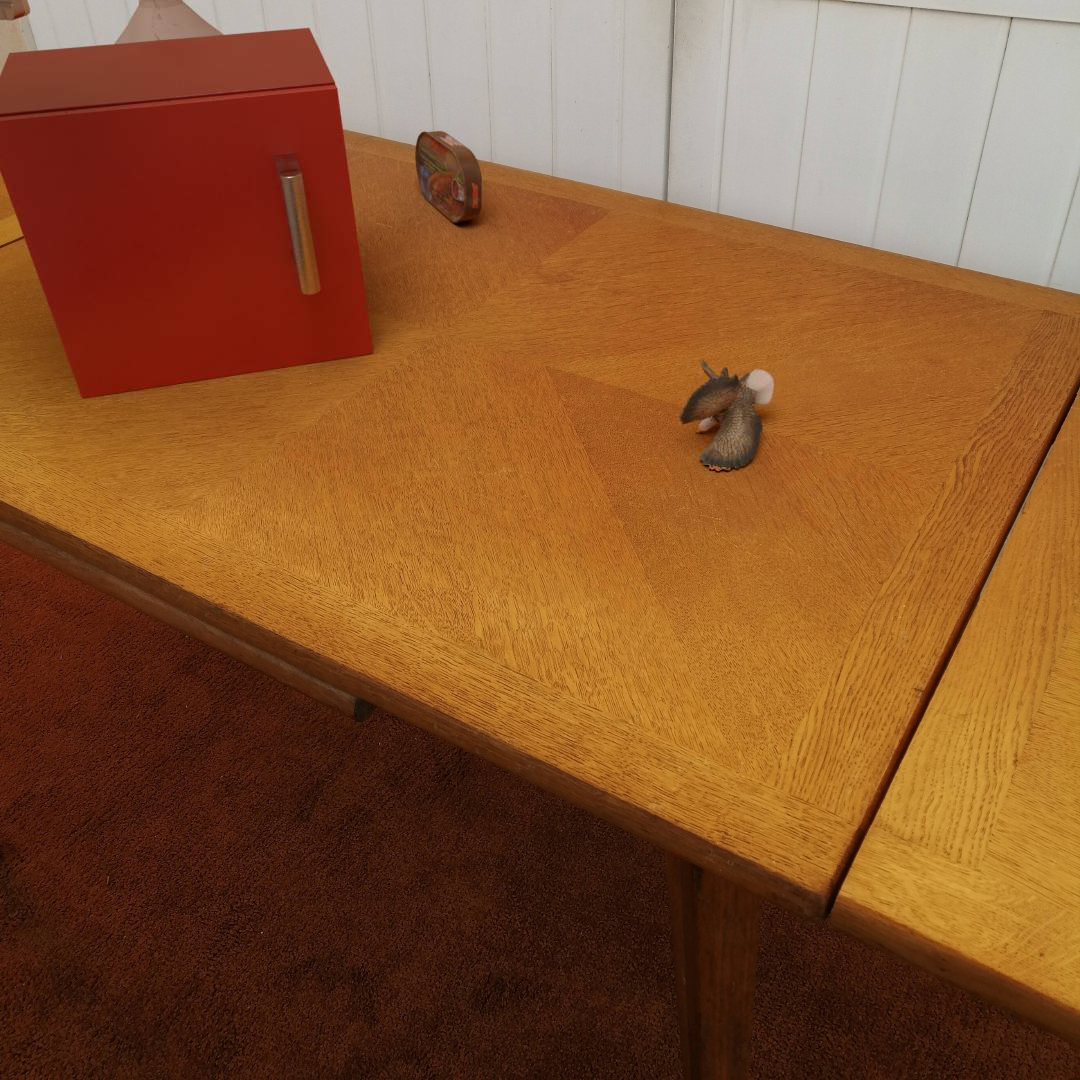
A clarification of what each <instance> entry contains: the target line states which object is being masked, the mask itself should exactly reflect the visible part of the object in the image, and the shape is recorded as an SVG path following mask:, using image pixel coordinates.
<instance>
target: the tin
mask: <svg viewBox="0 0 1080 1080" xmlns="http://www.w3.org/2000/svg"><path fill="white" fill-rule="evenodd" d="M414 153H415V156H414V160H415V170H416V175H417V179H418V184H419V186H420V190H421V193H422V195H423V197H424V198H425V200H426V201H427V202H428V204H430V205H431V206H433V208H435V209H436V210H437V211H438V212H440V214H442V215H443V216H444V217H446V218H447V219H448V220H449V221H450V222H451V223H454V224H458V223H460V222H466V221H467V222H468V221H473V220H476V218H478V216H479V215H480V213H481V211H482V208H483V207H482V199H483V198H482V197H483V187H482V183H483V178H482V177H483V176H482V172H481V168H480V165H479V164H480V163H479V161H478V160H477V158H476V155H475V154H474V152H473V151H472V150H471V149H470V148H468V147H467V146H466V145H464V144H463V143H461V142H460V141H458V139H455V137H453V136H451V135H450V134H449V133H447V132H446V131H443V130H435V131H425V130H424V131H422V132H420V134H419V135H418V136H417V139H416V144H415V152H414Z"/></svg>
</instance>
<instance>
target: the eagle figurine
mask: <svg viewBox="0 0 1080 1080" xmlns="http://www.w3.org/2000/svg"><path fill="white" fill-rule="evenodd" d="M699 363H700V366H701V368H702V370H703V372H704V374H706V376H707V377H708V378H709V379H708V380H707V381H705V382H704V383H703V384H701V385H700V386H699V387H698V388H697V389H696V390H695V391H694V392H692V393H691V394H690V397H689V398H688V399H687V400H686V403H685V404H684V405H683V408H682V411H681V413H680V414H679V416H678V417H679V422H680V423H681V425H687V424H689V423H693V422H696V421H698V422H699V421H700V423H699V424H698V428H697V429H696V430H695V433H696V432H697V433H696V434H699V433H700V432H707V431H709V430H710V429H711V428H713V426H715V425H717V424H719V423H720V425H719V428H718V430H717V432H716V434H715V436H714V438H713V439H712V441H711V442H710V443H709V445H708V446H707V447H706V448H705V449H704V450H703V452H701V454H700V456H699V460H700V461H702V464H704V465H707V464H710V465H711V467H713V465H714V466H718V467H720V468H722V467H726V469H729V468H731V467H732V469H733V468H734V467H736V468H737V467H739V468H740V467H744V466H746V465H747V464H748V463H749V462H750V461H752V460H753V459H754V456H755V455H756V453H757V448H758V446H759V441H760V437H761V434H762V433H763V430H764V429H763V428H764V427H763V420H762V419H761V416H760V415H759V413H758V412H757V410H755V409H756V408H755V406H754V405H756V406H757V405H758V406H759V405H760V406H766V405H769V404H770V403H771V401H772V399H773V395H774V390H775V382H774V381H775V380H774V377H773V376H772V375H771V373H769V372H767V370H763V369H760V368H754V369H752V370H751V372H749V371H747V372H745V374H744V375H742V376H741V377H740V378H739V376H738V374H737V373H734V374H733V376H729V370H728V367H727V366H724V367H723V368H722V369H721V371H720V374H719V375H718V374H717V373H716V372H714V371H713V370H712V368H710V367H709V364H708V363H707V362H706V360H704V359H700V360H699ZM704 465H703V466H704Z"/></svg>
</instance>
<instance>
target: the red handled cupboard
mask: <svg viewBox="0 0 1080 1080" xmlns="http://www.w3.org/2000/svg"><path fill="white" fill-rule="evenodd" d="M343 126H344V125H343V120H342V113H341V104H340V98H339V90H338V87H337V84H335V85H327V86H316V87H306V88H296V89H285V90H275V91H265V92H254V93H244V94H233V95H223V96H213V97H202V98H192V99H182V100H171V101H161V102H150V103H140V104H130V105H119V106H109V107H99V108H88V109H78V110H68V111H57V112H47V113H36V114H26V115H16V116H5V117H0V175H1V177H2V180H3V182H4V185H5V188H6V191H7V194H8V197H9V199H10V203H11V205H12V209H13V210H14V214H15V216H16V219H17V222H18V225H19V227H20V230H21V233H22V236H23V238H24V242H25V244H26V246H27V249H28V252H29V256H30V257H31V261H32V264H33V267H34V269H35V271H36V275H37V277H38V280H39V283H40V286H41V288H42V291H43V294H44V296H45V301H46V302H47V306H48V307H49V311H50V314H51V317H52V319H53V322H54V324H55V328H56V330H57V333H58V336H59V338H60V341H61V344H62V346H63V350H64V352H65V355H66V357H67V361H68V363H69V366H70V369H71V372H72V375H73V377H74V379H75V382H76V385H77V388H78V391H79V393H80V397H81V399H87V398H94V397H101V396H108V395H113V394H121V393H128V392H133V391H140V390H147V389H153V388H159V387H165V386H172V385H173V386H174V385H179V384H185V383H192V382H198V381H204V380H212V379H217V378H223V377H230V376H231V377H232V376H238V375H243V374H251V373H256V372H263V371H270V370H276V369H282V368H288V367H289V368H291V367H295V366H296V367H297V366H302V365H308V364H315V363H322V362H327V361H334V360H341V359H348V358H355V357H362V356H367V355H373V354H374V349H373V341H372V335H371V327H370V320H369V311H368V305H367V297H366V290H365V281H364V275H363V267H362V261H361V260H362V259H361V253H360V246H359V238H358V231H357V223H356V216H355V208H354V201H353V193H352V186H351V180H350V171H349V170H350V169H349V164H348V156H347V149H346V142H345V135H344V133H345V132H344V127H343Z"/></svg>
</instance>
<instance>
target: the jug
mask: <svg viewBox="0 0 1080 1080" xmlns="http://www.w3.org/2000/svg"><path fill="white" fill-rule="evenodd" d="M217 35H225V34H224V33H222V32H221V31H220V30H219V29H217V28H216V27H214V25H212V24H210V23H209V22H208V21H206V20H205V19H204V18H203V17H201V15H199V14H198V13H197V12H196V11H195V10H194V9H193V8H192V7H190V6H189V5H188V4H187V3H186V2H185V1H183V0H138V5H137V7H136V9H135V11H134V12H133V14H132V15H131V18H130V20H129V21H128V22H127V24H126V27H125V28H124V30H123V31H122V32H121V33H120V35H119V37H118V38H117V39H116V40H115V42H114V44H122V43H134V42H145V41H157V40H169V39H181V38H193V37H205V36H217Z"/></svg>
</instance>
